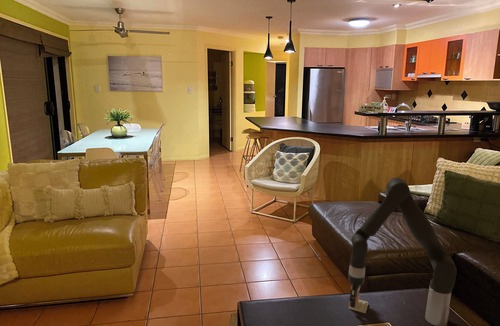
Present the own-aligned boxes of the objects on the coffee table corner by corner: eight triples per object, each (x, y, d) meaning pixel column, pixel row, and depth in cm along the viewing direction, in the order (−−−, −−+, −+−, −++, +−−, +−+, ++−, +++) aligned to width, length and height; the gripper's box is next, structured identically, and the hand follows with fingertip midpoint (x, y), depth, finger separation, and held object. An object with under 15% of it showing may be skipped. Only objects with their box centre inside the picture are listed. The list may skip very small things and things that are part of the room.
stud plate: (367, 304, 184) (368, 301, 183) (365, 313, 177) (365, 310, 177) (352, 299, 187) (352, 297, 187) (348, 308, 180) (349, 305, 180)
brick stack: (358, 303, 182) (359, 292, 180) (357, 308, 178) (358, 296, 177) (350, 301, 183) (351, 290, 182) (349, 305, 180) (350, 294, 178)
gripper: (362, 282, 169) (359, 312, 173) (367, 268, 181) (364, 296, 185) (345, 278, 172) (343, 308, 176) (351, 264, 184) (349, 292, 188)
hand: (354, 302), depth 180 cm, fingers open, 8 cm apart
